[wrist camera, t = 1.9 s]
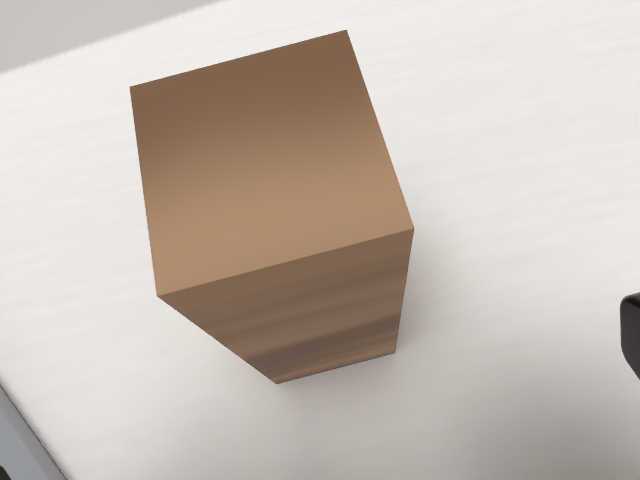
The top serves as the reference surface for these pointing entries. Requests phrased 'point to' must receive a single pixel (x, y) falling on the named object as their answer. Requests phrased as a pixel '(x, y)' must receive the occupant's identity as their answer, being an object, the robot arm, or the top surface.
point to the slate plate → (22, 447)
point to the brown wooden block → (276, 207)
